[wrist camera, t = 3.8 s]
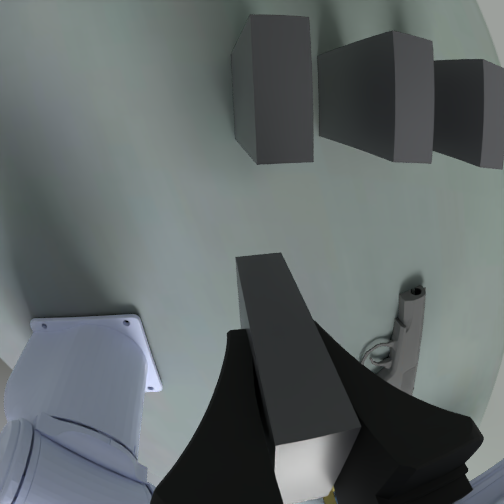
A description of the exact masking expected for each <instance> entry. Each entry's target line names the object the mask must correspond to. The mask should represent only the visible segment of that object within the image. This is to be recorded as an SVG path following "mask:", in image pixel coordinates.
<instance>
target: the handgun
mask: <svg viewBox="0 0 504 504" xmlns="http://www.w3.org/2000/svg"><path fill="white" fill-rule="evenodd" d="M425 290H426V287H425V288H423V287H422V286H418V287H416V288H415V295H413V294H412V289H411V290H409V291H406V292H404V293H401V294H399V317H398V318H397V319H395V322H394V329H393V334H392V337H391V340H390V341H389V342H388V343H380V344H377V345H375V346H374V347H373V348H371V349H370V350H368V351H367V352H366V353H365V355H364V357H363V359H362V361H361V364H363V365H364V361H365V359H366V358H367V356H368V354H369V353H370V352H371V351H373V350H374V349H376V348H377V347H379V346H388V347H391V348H390V354H389V358H387V359H384V360H383V361H380V362H375V361H373V360H372V358H370V360H371V362H372V364H374V365H377V366H385V367H384V368H383V369H382V370H381V371H380V372H379V373H377V374H376V375H377V376H379V377H380V378H382V379H383V380H385V381H386V382H388V383H390V384H391V385H393V386H394V387H396V388H398V389H400V390H401V391H403V392H405V393H407V394H409V395H411V396H412V393H413V390H414V382H415V377H416V371H417V365H418V358H419V352H420V344H421V337H422V328H423V319H424V308H425V296H426V291H425Z"/></svg>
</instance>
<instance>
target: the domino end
mask: <svg viewBox="0 0 504 504" xmlns="http://www.w3.org/2000/svg"><path fill="white" fill-rule="evenodd" d="M432 151H435V152H438V153H441V154H444V155H447V156H450V157H453V158H456V159H459V160H462V161H465V162H467V163H470V164H473V165H475V166H478V167H483V168H493V169H503V160H504V68H502V67H500V66H497V65H495V64H493V63H491V62H488V61H486V60H484V59H460V60H437V61H434V132H433V149H432Z"/></svg>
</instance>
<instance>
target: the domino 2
mask: <svg viewBox="0 0 504 504" xmlns="http://www.w3.org/2000/svg"><path fill="white" fill-rule="evenodd" d="M235 258H236V271H237V284H238V297H239V309H240V321H241V329H246V331H247V335H248V339H249V343H250V347H251V352H252V362H253V376H254V388H255V395H256V400H257V404H258V409H259V413H260V418H261V422H262V426H263V430H264V434H265V439H266V442H267V446H268V450H269V454H270V458H271V462H272V465H273V469H274V472H275V476H276V479H277V483H278V486H279V490H280V493H281V496H282V499H283V503H284V504H293V503H298V502H303V501H308V500H312V499H317V498H321V497H325V496H328V494H329V493H330V491H331V489H332V487H333V485H334V483H335V481H336V479H337V478H338V476H339V474H340V472H341V470H342V468H343V466H344V464H345V462H346V459H347V457H348V455H349V453H350V451H351V449H352V447H353V444H354V442H355V440H356V438H357V436H358V433H359V431H360V429H361V424H360V422H359V420H358V418H357V415H356V413H355V411H354V408H353V406H352V404H351V402H350V399H349V397H348V395H347V393H346V391H345V388H344V386H343V384H342V382H341V379H340V377H339V375H338V373H337V371H336V368H335V366H334V364H333V362H332V360H331V357H330V355H329V353H328V351H327V349H326V347H325V344H324V342H323V340H322V338H321V336H320V334H319V331H318V329H317V327H316V325H315V323H314V321H313V319H312V316H311V314H310V312H309V310H308V308H307V306H306V304H305V302H304V300H303V297H302V295H301V293H300V291H299V289H298V287H297V285H296V283H295V281H294V279H293V276H292V274H291V272H290V270H289V268H288V266H287V264H286V262H285V260H284V258H283V256H282V254H281V253H271V254H262V255H252V256H242V257H235Z"/></svg>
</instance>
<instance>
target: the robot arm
mask: <svg viewBox="0 0 504 504" xmlns="http://www.w3.org/2000/svg"><path fill="white" fill-rule="evenodd" d="M124 320H127V321H129V323H127V322H125V321H124ZM313 321H314V320H313ZM314 323H315V325H316V327H317V329H318V331H319V334H320V336H321V338H322V340H323V342H324V344H325V347H326V349H327V351H328V353H329V355H330V357H331V360H332V362H333V364H334V366H335V368H336V371H337V373H338V375H339V377H340V379H341V382H342V384H343V386H344V388H345V391H346V393H347V395H348V397H349V399H350V402H351V404H352V406H353V408H354V411H355V413H356V415H357V418H358V420H359V422H360V424H361V429H360V431H359V433H358V436H357V438H356V440H355V442H354V444H353V447H352V449H351V451H350V453H349V455H348V457H347V459H346V462H345V464H344V466H343V468H342V470H341V472H340V474H339V476H338V478H337V479H336V481H335V483H334V490H335V494H336V499H337V503H338V504H504V459H503V460H501V461H500V462H498V463H497V464H496V465H494V466H493V467H491V468H490V469H488V470H487V471H485V472H484V473H482V474H481V475H479V476H478V477H476V478H474V479H473V480H471V481H468V479H467V477H466V475H465V474H466V473H467V472H468V468H467V466H466V465H465V462H466V461H467V460H468V459H469V458H470V457H471V456H472V455H473V454H474V453H475V452H476V451H477V449H478V448H479V447H480V446H481V444H482V442H483V440H484V437H483V435H482V434H481V432H480V431H479V429H478V427H477V426H476V424H475V423H474V421H473V420H472V419H471V417H468V416H464V415H461V414H457V413H454V412H450V411H447V410H444V409H441V408H439V407H436V406H434V405H431V404H428V403H426V402H424V401H422V400H419V399H417V398H415V397H413V396H411V395H409V394H407V393H405V392H403V391H401V390H400V389H398V388H396V387H394V386H393V385H391V384H390V383H388V382H386V381H385V380H383V379H382V378H380V377H379V376H377V375H376V374H374V373H373V372H372V371H370V370H369V369H368V368H366V367H365V366H364V365H363V364H361V363H360V362H359V361H358V360H356V359H355V358H354V357H353V356H352V355H350V354H349V353H348V352H347V351H346V350H345V349H344V348H343V347H341V346H340V345H339V344H338V343H337V342H336V341H335V340H334V339H333V338H332V337H331V336H330V335H329V334H328V333H327V332H326V331H325V330H324V329H323V328H322V327H321V326H320V325H319V324H318V323H317V322H316V321H314ZM45 324H46V325H47V326H46V325H45ZM30 326H31V329H32V331H33V334H32V335H31V337H30V339H29V341H28V343H27V344H26V346H25V348H24V350H23V352H22V354H21V356H20V358H19V359H18V361H17V363H16V365H15V367H14V369H13V371H12V373H11V375H10V377H9V379H8V382H7V385H6V389H5V395H4V409H5V415H6V418H7V421H8V423H7V424H6V425H5V426H4V428H3V429H2V431H1V433H0V504H284V503H283V499H282V496H281V493H280V490H279V486H278V483H277V479H276V476H275V472H274V469H273V465H272V462H271V458H270V454H269V450H268V446H267V442H266V439H265V434H264V430H263V426H262V422H261V418H260V413H259V409H258V404H257V400H256V395H255V388H254V376H253V362H252V352H251V347H250V343H249V339H248V335H247V331H246V329H238V330H230V331H229V332H228V333H227V346H226V352H225V357H224V361H223V365H222V369H221V372H220V376H219V379H218V382H217V385H216V388H215V390H214V393H213V396H212V398H211V401H210V403H209V406H208V408H207V410H206V412H205V414H204V416H203V419H202V421H201V422H200V424H199V426H198V428H197V430H196V432H195V434H194V435H193V437H192V439H191V441H190V442H189V444H188V445H187V447H186V448H185V450H184V451H183V453H182V454H181V456H180V457H179V459H178V460H177V462H176V463H175V465H174V466H173V467H172V469H171V470H170V471H169V472H168V474H167V475H166V476H165V477H164V479H163V480H162V481H161V482H160V483H159V485H158V486H157V487H155V486H153V485H152V484H150V483H149V482H147V467H145V466H143V465H141V464H140V463H138V450H139V439H140V429H141V420H142V411H143V403H144V395H145V392H158V391H161V390H162V388H163V385H162V382H161V379H160V377H159V374H158V371H157V368H156V365H155V362H154V359H153V356H152V354H151V351H150V347H149V344H148V341H147V338H146V335H145V332H144V329H143V325H142V322H141V319H140V317H139V316H138V315H135V314H125V315H108V316H89V317H65V318H34V319H32V320H31V321H30ZM150 386H151V387H150Z"/></svg>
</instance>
